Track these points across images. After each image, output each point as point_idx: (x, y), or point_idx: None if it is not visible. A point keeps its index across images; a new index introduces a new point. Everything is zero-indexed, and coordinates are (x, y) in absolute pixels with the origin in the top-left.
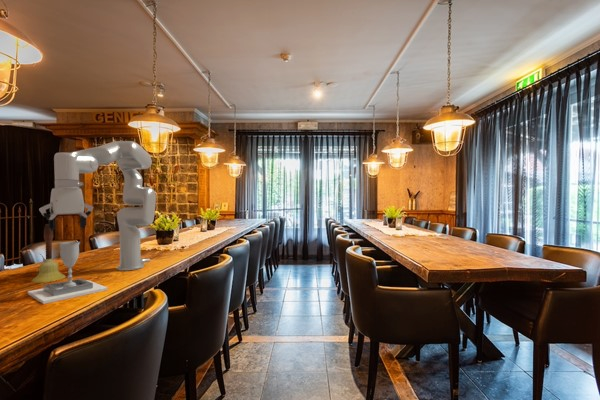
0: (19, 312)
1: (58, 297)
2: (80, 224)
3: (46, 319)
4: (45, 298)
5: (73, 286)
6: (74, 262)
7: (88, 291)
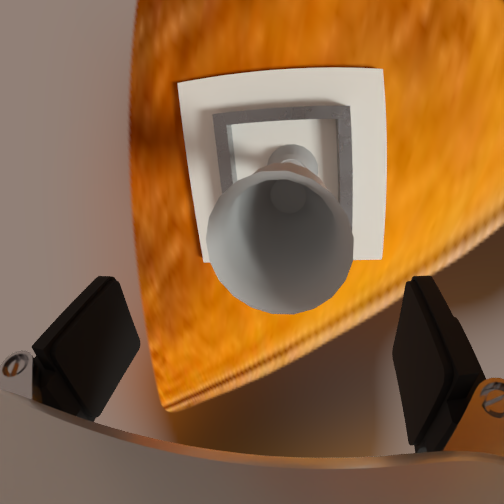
0: (160, 284)
1: None
2: (415, 314)
3: (204, 366)
4: None
5: None
6: (304, 221)
7: None
